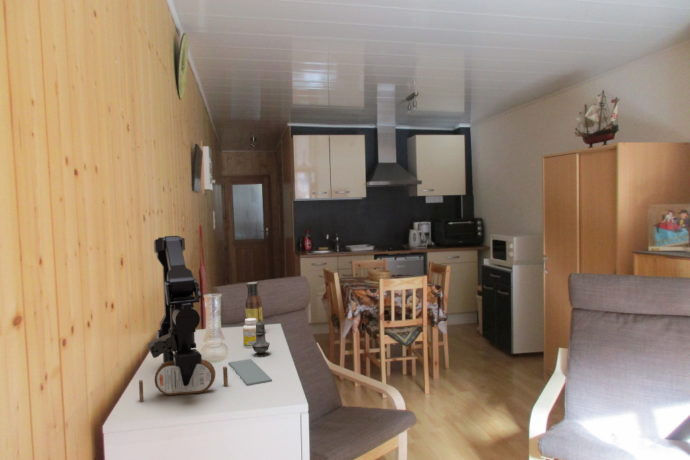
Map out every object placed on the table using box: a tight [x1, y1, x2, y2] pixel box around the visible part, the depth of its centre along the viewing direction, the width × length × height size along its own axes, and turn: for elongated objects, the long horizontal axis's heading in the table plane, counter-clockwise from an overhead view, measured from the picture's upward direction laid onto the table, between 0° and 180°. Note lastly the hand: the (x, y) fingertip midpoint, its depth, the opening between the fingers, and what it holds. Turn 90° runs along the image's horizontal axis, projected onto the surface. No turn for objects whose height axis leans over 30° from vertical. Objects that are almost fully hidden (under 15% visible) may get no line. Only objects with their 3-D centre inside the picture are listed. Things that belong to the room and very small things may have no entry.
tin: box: [154, 358, 216, 396], centre depth 127 cm, size 15×3×8 cm, turn 98°
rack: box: [138, 366, 229, 403], centre depth 127 cm, size 2×22×5 cm, turn 116°
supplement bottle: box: [242, 318, 257, 349], centre depth 171 cm, size 5×5×10 cm
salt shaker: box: [252, 319, 271, 358], centre depth 160 cm, size 6×6×12 cm
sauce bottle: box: [245, 281, 264, 323], centre depth 188 cm, size 6×6×20 cm
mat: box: [228, 358, 273, 387], centre depth 143 cm, size 22×7×1 cm, turn 26°
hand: (184, 383), depth 127 cm, fingers open, 3 cm apart
